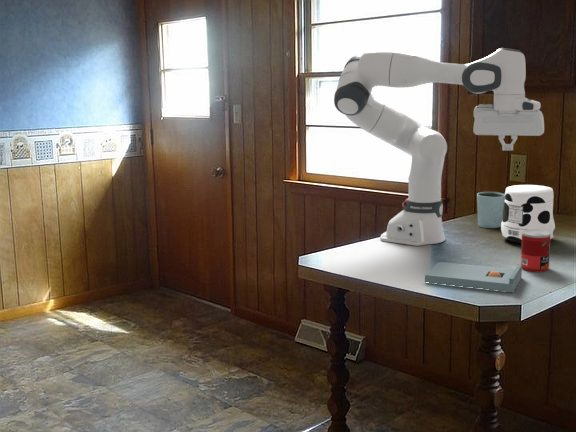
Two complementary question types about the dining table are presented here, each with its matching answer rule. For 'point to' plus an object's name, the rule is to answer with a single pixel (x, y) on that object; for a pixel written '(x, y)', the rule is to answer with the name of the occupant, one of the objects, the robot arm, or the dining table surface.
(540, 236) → the canned food
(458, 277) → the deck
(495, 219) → the pale blue cup
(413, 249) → the dining table surface
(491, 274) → the ball
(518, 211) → the milk container
